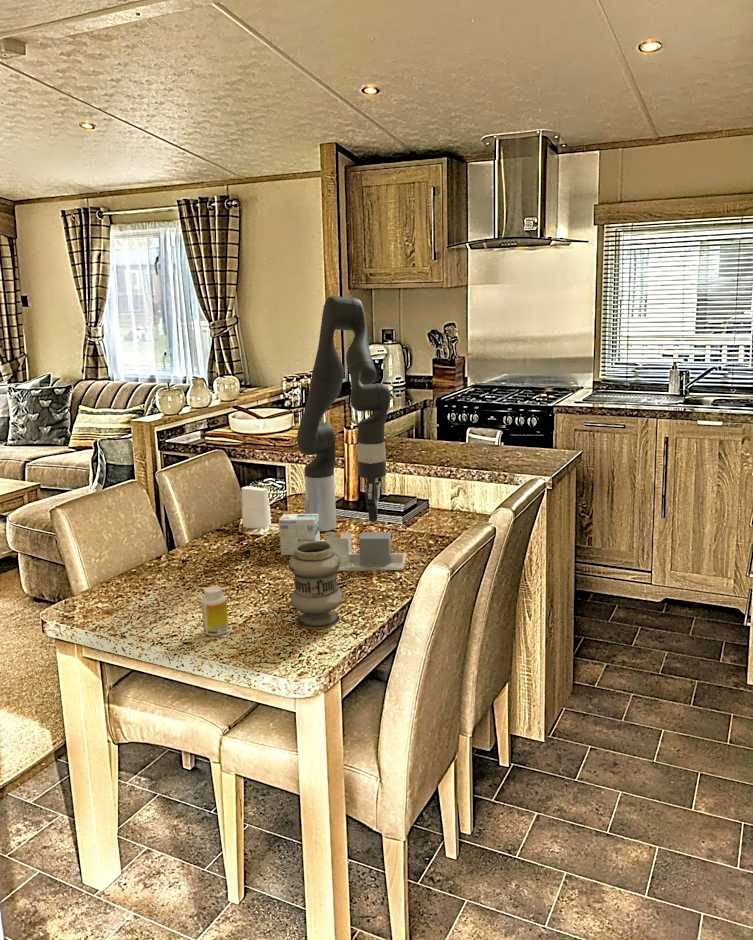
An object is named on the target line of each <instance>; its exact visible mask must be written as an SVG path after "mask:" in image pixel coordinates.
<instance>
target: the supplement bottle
mask: <svg viewBox="0 0 753 940" xmlns="http://www.w3.org/2000/svg"><path fill="white" fill-rule="evenodd" d="M203 595H204V596H203V597H202V598H201V600H200V602H201V603H200V604H201V605H200V606H201V615H202V625H203V632H204V634H205V635H206V636H210V637H217V636H218V637H219V636H223V635H224V634H226V633H228V632H229V629H230V627H229V615H228V613H229V612H228V603H227V596H226V595H225V594H223V588H222V587H221V586H218V585H212V586H207V587H205V588H204V590H203Z"/></svg>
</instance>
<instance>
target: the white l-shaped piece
mask: <svg viewBox="0 0 753 940" xmlns="http://www.w3.org/2000/svg"><path fill="white" fill-rule="evenodd" d="M325 540H326V541H325V542H328V543H330V544H331V545H332V549H333V552H334V553H336V554H337V555H338V556H339V558H340V561H341V563H340V567H339V568H338V569H337V570H336V572H341V571H342V572H347V571H348V572H350V571H351V572H356V571H357V572H375V571H374V570H403V569H404V570H405V566H406V562H405V561H407V558H406V557H407V553H406V552H405V553H404V552H391V553H390V563H389V564H361V563H360V552H353V547H352V546H353V545H352V544H353V543H352V532H351V531H350V532H349V531H348V532H346V531H345V532H344V531H343V532H342V531H336V532H331V531H330V532H329V533H328V534H327V536H326V539H325ZM404 565H405V566H404ZM369 570H371V571H369Z"/></svg>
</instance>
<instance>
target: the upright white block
mask: <svg viewBox="0 0 753 940" xmlns="http://www.w3.org/2000/svg"><path fill="white" fill-rule="evenodd" d="M241 498H242V499H241V501H242V502H241V503H242V506H241V514H242V515H241V516H242V517H241V518H242V526H243V527H244V528H245V529H263V528H267V527H269V526H271V524H272V520H271V519H272V518H271V506H270V503H269V500H270V499H269V489H268V488H264V487H259V486H258V487H256V486H248V485H246V486H243V487H241ZM266 526H267V527H266Z"/></svg>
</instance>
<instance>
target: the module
mask: <svg viewBox="0 0 753 940" xmlns="http://www.w3.org/2000/svg"><path fill="white" fill-rule="evenodd" d="M358 543H359V546H358V547H359V553H360V563H361V564H389V563H390V553H392V533H391V532H390V531H388V532H386V531H384V532H381V531H379V532H378V531H376V532H375V531H373V532H371V531H367V532H365V531H362V532H361V534H360V536H359V538H358Z"/></svg>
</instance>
